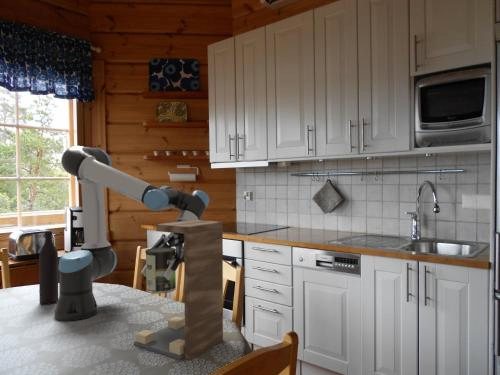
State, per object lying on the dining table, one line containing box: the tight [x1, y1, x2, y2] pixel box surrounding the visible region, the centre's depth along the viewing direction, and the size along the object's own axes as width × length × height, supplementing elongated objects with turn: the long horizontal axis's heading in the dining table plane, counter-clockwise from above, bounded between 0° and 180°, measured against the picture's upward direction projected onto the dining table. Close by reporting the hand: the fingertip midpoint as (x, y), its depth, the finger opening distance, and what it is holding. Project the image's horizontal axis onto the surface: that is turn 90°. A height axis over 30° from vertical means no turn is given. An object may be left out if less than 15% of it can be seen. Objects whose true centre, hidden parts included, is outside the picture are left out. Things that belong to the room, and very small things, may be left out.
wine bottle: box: [38, 230, 59, 305], centre depth 165 cm, size 7×7×30 cm
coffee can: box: [144, 247, 177, 295], centre depth 138 cm, size 10×10×14 cm
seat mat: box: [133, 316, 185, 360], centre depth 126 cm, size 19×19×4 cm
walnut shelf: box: [155, 219, 224, 360], centre depth 123 cm, size 13×16×38 cm
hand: (154, 276), depth 136 cm, fingers closed on coffee can, 10 cm apart
